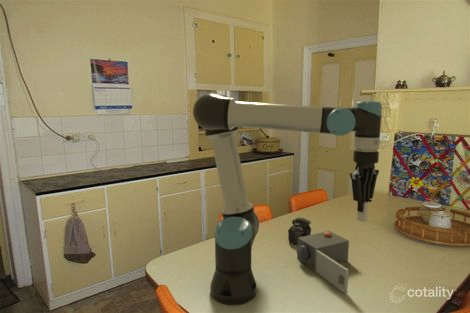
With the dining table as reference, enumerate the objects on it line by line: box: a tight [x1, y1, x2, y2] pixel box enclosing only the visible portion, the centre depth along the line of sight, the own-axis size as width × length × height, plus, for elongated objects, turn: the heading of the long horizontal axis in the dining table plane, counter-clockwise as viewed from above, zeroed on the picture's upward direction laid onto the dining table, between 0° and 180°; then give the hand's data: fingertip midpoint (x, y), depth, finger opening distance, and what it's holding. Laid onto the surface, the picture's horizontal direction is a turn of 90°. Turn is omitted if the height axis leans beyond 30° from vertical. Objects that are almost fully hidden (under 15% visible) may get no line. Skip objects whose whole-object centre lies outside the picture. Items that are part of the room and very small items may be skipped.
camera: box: [287, 216, 312, 246], centre depth 146 cm, size 13×10×10 cm
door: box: [313, 250, 350, 294], centre depth 110 cm, size 16×2×8 cm, turn 23°
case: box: [296, 230, 350, 270], centre depth 126 cm, size 18×11×10 cm, turn 116°
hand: (361, 220), depth 107 cm, fingers closed
